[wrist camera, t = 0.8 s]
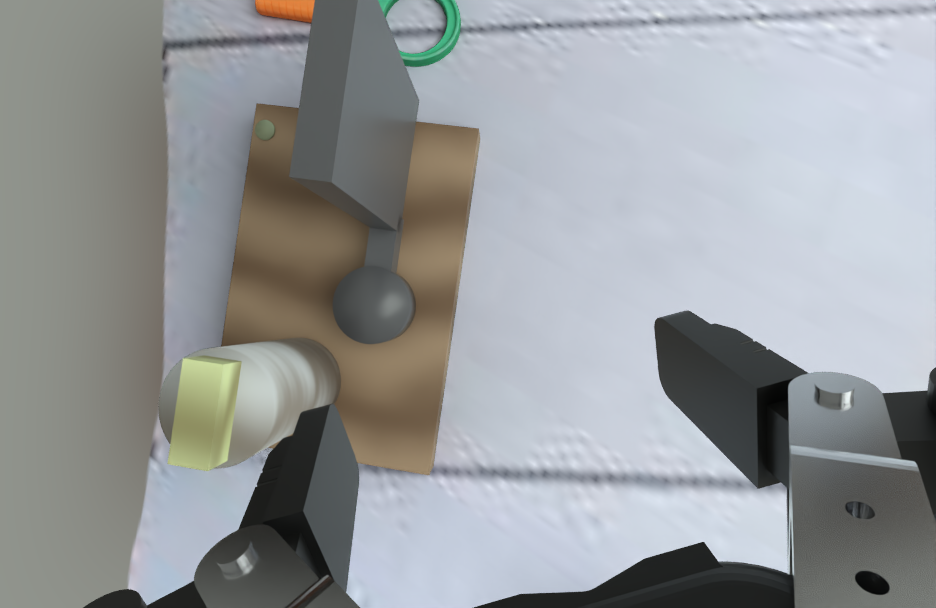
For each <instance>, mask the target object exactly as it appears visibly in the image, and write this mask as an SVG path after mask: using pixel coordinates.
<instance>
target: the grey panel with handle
mask: <svg viewBox="0 0 936 608" xmlns="http://www.w3.org/2000/svg"><path fill="white" fill-rule="evenodd" d="M418 105H419V99H418V96H417V94H416V91H415V89H414V87H413V84H412V82H411V79H410V77H409V74H408V72H407V69H406V67H405V65H404V62H403V60H402V57H401V55H400V52H399V50H398V48H397V45H396V43H395V40H394V38H393V35H392V33H391V30H390V28H389V26H388V23H387V21H386V18H385V16H384V13H383V11H382V9H381V6H380V4H379V1H378V0H315V2H314V9H313V16H312V23H311V29H310V36H309V43H308V50H307V57H306V64H305V71H304V78H303V84H302V91H301V98H300V105H299V112H298V119H297V126H296V133H295V139H294V146H293V153H292V160H291V167H290V174H289V177H290V178H292V179H293V180H295V181H296V182H298V183H300V184H301V185H303V186H304V187H306V188H308V189H309V190H311V191H312V192H314V193H316V194H317V195H319V196H320V197H322V198H324V199H325V200H327V201H328V202H330V203H332V204H333V205H335V206H336V207H338V208H340V209H341V210H343V211H344V212H346V213H348V214H349V215H351V216H352V217H354V218H356V219H357V220H359V221H360V222H362V223H364V224H365V225H367V226H368V227H370V229H369V236H368V243H367V250H366V257H365V264H364V267H361V268H358V269H356V270H354V271H352V272H350V273H349V274H347V275H346V276H345V277H344V278H343V279H342V280H341V282H340V283H339V285H338V286H337V288H336V290H335V293H334V297H333V314H334V317H335V320H336V322H337V325H338V326H339V328H340V329H341V330H342V332H343V333H344V334H346V335H347V336H348V337H349V338H351V339H353V340H354V341H357V342H360V343H364V344H378V343H382V342H386V341H390V340H393V339H395V338H397V337H399V336H400V335H402V334H403V333H404V332H405V331H406V330H407V329H408V328H409V326H410V325H411V323H412V321H413V319H414V316H415V311H416V300H415V296H414V292H413V290H412V288H411V286H410V285H409V283H408V282H407V281H406V280H405V279H404V278H403V277H401V276H400V275H399V274H397V266H398V259H399V252H400V245H401V238H402V231H403V224H404V220H403V219H402V217H403V210H404V203H405V196H406V189H407V182H408V175H409V168H410V161H411V154H412V147H413V140H414V133H415V126H416V119H417V112H418Z"/></svg>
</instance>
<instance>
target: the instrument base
mask: <svg viewBox="0 0 936 608" xmlns="http://www.w3.org/2000/svg"><path fill="white" fill-rule="evenodd" d="M298 112H299V108H292V107H283V106H275V105H266V104H257V105H256V112H255V119H254V125H253V132H252V139H251V146H250V153H249V160H248V166H247V173H246V180H245V187H244V194H243V201H242V208H241V214H240V221H239V228H238V235H237V242H236V249H235V256H234V262H233V269H232V276H231V283H230V290H229V297H228V304H227V310H226V317H225V324H224V331H223V338H222V345H221V347H214V348H207V349H202V350H199V351H196V352H193V353H191V354H189V355H188V356H186V357H185V358H183V359H182V360H180V361H179V362H178V363H177V364H176V365H175V366H174V367H173V369H172V370H171V371H170V372H169V374H168V375H167V377H166V379H165V381H164V383H163V386H162V389H161V392H160V397H159V406H158V407H159V418H160V423H161V427H162V430H163V432H164V434H165V437H166V438H167V440H168V442H169V443H170V450H169V457H168V464H170V465H175V466H181V467H187V468H192V469H198V470H204V471H209V470H211V469H213V468H225V467H230V466H234V465H237V464H239V463H241V462H243V461H245V460H247V459H248V458H250V457H252V456H254V455H255V454H257V453H259V452H261V451H262V450H264V449H266V448H273V449H274V448H275V447H276V445H277V444H278V443H279V442H280V441H281V440H282V439H283V438H285V437H289V436H292V435H293V433H294V430H295V427H296V424H297V421H298V419H299V416H300V413H301V412H303V411H306V410H310V409H314V408H318V407H321V406H325V405H329V404H334V405H335V406H336V408H337V410H338V412H339V414H340V417H341V420H342V422H343V425H344V428H345V430H346V433H347V436H348V438H349V441H350V443H351V446H352V449H353V451H354V454H355V457H356V460H357V463H361V464H367V465H373V466H379V467H384V468H390V469H396V470H402V471H408V472H414V473H419V474H425V475H429V474H430V472H431V470H432V468H433V465H434V458H435V451H436V444H437V437H438V430H439V423H440V416H441V409H442V402H443V395H444V388H445V381H446V374H447V367H448V360H449V353H450V346H451V339H452V332H453V325H454V318H455V311H456V304H457V297H458V290H459V283H460V276H461V269H462V262H463V255H464V248H465V241H466V234H467V227H468V220H469V213H470V206H471V199H472V192H473V185H474V178H475V171H476V164H477V157H478V150H479V143H480V135H479V129H476V128H468V127H459V126H450V125H441V124H433V123H424V122H416V126H415V133H414V140H413V147H412V154H411V161H410V168H409V175H408V182H407V189H406V196H405V203H404V210H403V217H402V219H403V220H404V224H403V231H402V238H401V245H400V252H399V259H398V266H397V274H399V275H400V276H401V277H403V278H404V279H405V280H406V281H407V282H408V283H409V285H410V286H411V288H412V290H413V292H414V296H415V300H416V311H415V316H414V319H413V321H412V323H411V325H410V326H409V328H408V329H407V330H406V331H405V332H404V333H403V334H402V335H400V336H399V337H397V338H395V339H393V340H390V341H386V342H382V343H378V344H364V343H360V342H357V341H354V340H353V339H351V338H349V337H348V336H347V335H346V334H344V333H343V332H342V330H341V329H340V328H339V326H338V325H337V322H336V320H335V317H334V314H333V297H334V293H335V290H336V288H337V286H338V285H339V283H340V282H341V280H342V279H343V278H344V277H345V276H346V275H347V274H349V273H350V272H352V271H354V270H356V269H358V268H361V267H364V264H365V257H366V250H367V243H368V236H369V229H370V227H368V226H367V225H365V224H364V223H362V222H360V221H359V220H357V219H356V218H354V217H352V216H351V215H349V214H348V213H346V212H344V211H343V210H341V209H340V208H338V207H336V206H335V205H333V204H332V203H330V202H328V201H327V200H325V199H324V198H322V197H320V196H319V195H317V194H316V193H314V192H312V191H311V190H309V189H308V188H306V187H304V186H303V185H301V184H300V183H298V182H296V181H295V180H293V179H292V178H290V177H289V174H290V167H291V160H292V153H293V146H294V139H295V133H296V126H297V119H298Z"/></svg>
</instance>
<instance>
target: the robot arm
mask: <svg viewBox="0 0 936 608" xmlns="http://www.w3.org/2000/svg"><path fill="white" fill-rule="evenodd" d="M654 328H655V339H656V350H657V360H658V371H659V377H660V381H661V384H662V387H663V389H664V391H665V393H666V395H667V396H668V398H669V399H670V400H671V401H672V402H673V403H674V404H675V405H676V406H677V407H678V408H679V409H680V410H681V411H682V412H683V413H684V414H685V415H686V416H687V417H688V418H689V419H690V420H691V421H692V422H693V423H694V424H695V425H696V426H697V427H698V428H699V429H700V430H701V431H702V432H703V433H704V434H705V435H706V436H707V437H708V438H709V439H710V440H711V441H712V442H713V443H714V444H715V445H716V447H717V448H718V449H719V450H720V451H721V452H722V453H723V454H724V455H725V456H726V457H727V458H728V459H729V460H730V461H731V462H732V463H733V464H734V465H735V466H736V467H737V468H738V469H739V470H740V471H741V472H742V473H743V474H744V475H745V476H746V477H747V478H748V479H749V480H750V481H751V482H752V483H753V484H754V485H755V486H756V487H757V488H758V489H759V488H762V487H766V486H770V485H773V484H777V483H780V482H781V483H782V484H783V485H785V486H786V487H787V562H788V574H787V573H784V572H781V571H778V570H775V569H771V568H767V567H763V566H760V565H753V564H747V563H739V562H718V561H717V559H716V558H715V557H714V555H713V554H712V553H711V551H710V550H709V548H708V547H707V546H706V544H705V543H704V542H701V543H698V544H694V545H691V546H687V547H684V548H680V549H677V550H673V551H670V552H666V553H663V554H659V555H656V556H652V557H649V558H645V559H643V560H642V561H640V562H638V563H637V564H635V565H633V566H632V567H630V568H628V569H626V570H625V571H623V572H621V573H620V574H618V575H616V576H615V577H613V578H611V579H610V580H608V581H606V582H605V583H603V584H601V585H599V586H598V587H596V588H594V589H592V590H589V591H584V592H563V593H536V594H519V595H516V596H512V597H509V598H505V599H502V600H498V601H495V602H491V603H488V604H484V605H481V606H477V607H474V608H936V368H934V369H933V370H932V371H931V373H930V376H929V384H928V391H914V392H897V393H882V392H881V391H880V390H879V389H878V388H877V387H876V386H875V385H873V384H871V383H870V382H868V381H866V380H864V379H861V378H858V377H855V376H852V375H848V374H842V373H835V372H814V373H807V372H806V371H804V370H803V369H801V368H799V367H798V366H796V365H794V364H793V363H791V362H789V361H788V360H786V359H784V358H783V357H781V356H779V355H778V354H776V353H775V352H773V351H771V350H770V349H769V350H767V349H766V347H765V346H763V345H761V344H760V343H758V342H756V341H755V342H754V341H753V339H751V338H750V337H748V336H746V335H745V334H743V333H742V332H740V331H738V330H736V329H733V328H729V327H726V326H722V325H718V324H709V323H708V322H706V321H705V320H703V319H702V318H700V317H698V316H697V315H695V314H694V313H692V312H690V311H683V312H679V313H675V314H671V315H668V316H664V317H660V318H657V319H656V321H655V326H654ZM262 471H263V473H261V475H260V477H259V480H258V482H257V487H255V490H254V492H253V495H252V497H251V500H250V502H249V505H248V507H247V510H246V512H245V515H244V517H243V519H242V522H241V524H240V527H239V529H238V530H237V531H235V532H233V533H231V534H230V535H228V536H227V537H225V538H223V539H222V540H221V541H219V542H218V543H217V544H216V545H215V546H214V547H212V548H211V549H210V550H209V552H208V553H207V554H206V555H205V556H204V557H203V559H202V560H201V562H200V563H199V565H198V567H197V569H196V572H195V576H194V581H193V582H191V583H189V584H187V585H186V586H184V587H182V588H180V589H178V590H176V591H174V592H172V593H170V594H168V595H166V596H164V597H162V598H160V599H159V600H157V601H155V602H153V603H151V604H149V605H146V604H145V602H144V601H143V599H142V598H141V596H140V594H139V593H137V592H136V591H134V590H129V589H126V590H119V591H115V592H112V593H109V594H106V595H104V596H103V597H100V598H98V599H96V600H95V601H93V602H91V603H89V604H88V605H86V606H85V607H84V608H360V607H359V606H358V605H357V604H356V603H355V602H354V601H353V600H352V599H351V598H350V597H349V596H348V594H347V593H346V589H347V580H348V572H349V563H350V555H351V546H352V538H353V529H354V521H355V512H356V504H357V495H358V487H359V471H358V465H357V460H356V457H355V454H354V451H353V449H352V446H351V443H350V441H349V438H348V436H347V433H346V430H345V428H344V425H343V422H342V420H341V417H340V414H339V412H338V410H337V408H336V406H335V405H334V404H329V405H325V406H321V407H318V408H314V409H310V410H306V411H303V412H301V413H300V416H299V419H298V421H297V424H296V427H295V430H294V433H293V435H292V436H289V437H285V438H283V439H282V440H281V441H280V442H279V443H278V444H277V445H276V447H275V448H274V449H273V450H272V451H271V452H270V453H269V455H268V457H267V460H266V462H265V465H264V467H263V470H262Z"/></svg>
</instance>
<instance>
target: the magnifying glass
mask: <svg viewBox="0 0 936 608" xmlns="http://www.w3.org/2000/svg"><path fill="white" fill-rule="evenodd" d="M378 1H379V4H380V6H381V9H382V11H383V13H384V16H385V18H386V16H387V13H388V11H389V10H390V8H391V7H392V6H393V5H394V4H395V3H396V2H397V1H398V0H378ZM435 1H436V2H438V3H439V4H440V5H441V7H442V8H443V10H444V13H445V15H446V17H447V18H446V19H447V28H446V31H445V34H444V36H443V37H442V39H441V40H440V41H439V43H438V44H437V45H436V46H434V47H433V48H432V49H430V50H428V51H426V52H422V53H417V54H409V53H404V52H401V51H399V52H400V55H401V57H402V60H403V62H404V65H405V66H412V67H419V66H426V65H430V64H433V63H435V62H437V61H439V60H441V59H442V58H444V57H445V56H446V55H448V54H449V53H450V52H451V50H452V49H453V48H454V46H455V44H456V42H457V40H458V38H459V34H460V26H461V20H460V13H459V9H458V6H457V4H456V2H455V0H435ZM314 2H315V0H255V5H256V9H257V12H258V13H260V14H261V15H266V16H272V17H279V18H286V19H291V20H298V21H303V22H310V23H312V16H313V9H314Z"/></svg>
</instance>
